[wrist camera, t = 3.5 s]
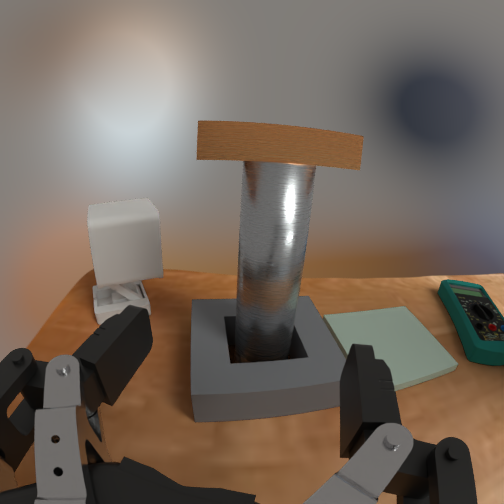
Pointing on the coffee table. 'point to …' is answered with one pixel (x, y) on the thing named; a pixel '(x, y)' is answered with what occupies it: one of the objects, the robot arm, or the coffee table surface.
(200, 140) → the t key
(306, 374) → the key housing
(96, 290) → the security camera
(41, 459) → the robot arm
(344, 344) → the pad
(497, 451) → the coffee table surface
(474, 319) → the digital multimeter
